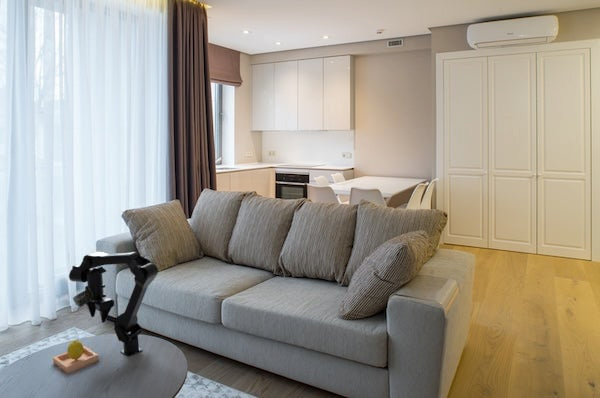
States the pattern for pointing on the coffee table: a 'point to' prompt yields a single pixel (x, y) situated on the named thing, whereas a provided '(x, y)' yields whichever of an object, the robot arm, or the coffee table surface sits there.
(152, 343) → the coffee table surface
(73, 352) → the lemon
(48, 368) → the coffee table surface
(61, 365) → the dish
